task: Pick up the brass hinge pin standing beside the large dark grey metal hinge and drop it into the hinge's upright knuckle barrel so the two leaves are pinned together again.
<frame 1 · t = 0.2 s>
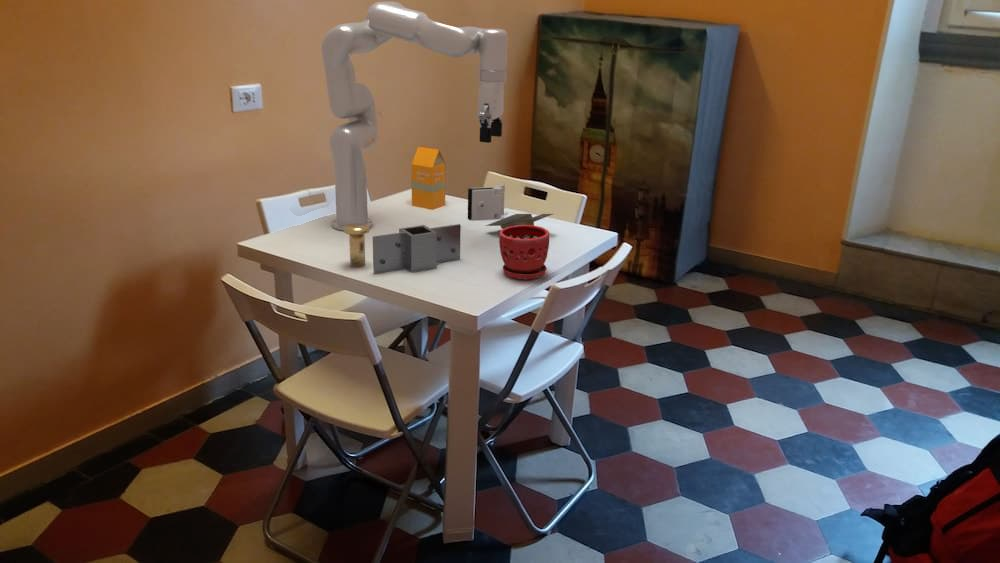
hand: (490, 139, 219), 31 cm above the table, tool pointing down, fingers open, 9 cm apart
hinge frame: (418, 265, 211), on the table
orange juice: (428, 205, 268), on the table
grey winged shape: (518, 235, 241), on the table
pin: (357, 264, 211), on the table
hinge: (487, 217, 257), on the table
plant pot: (522, 274, 208), on the table
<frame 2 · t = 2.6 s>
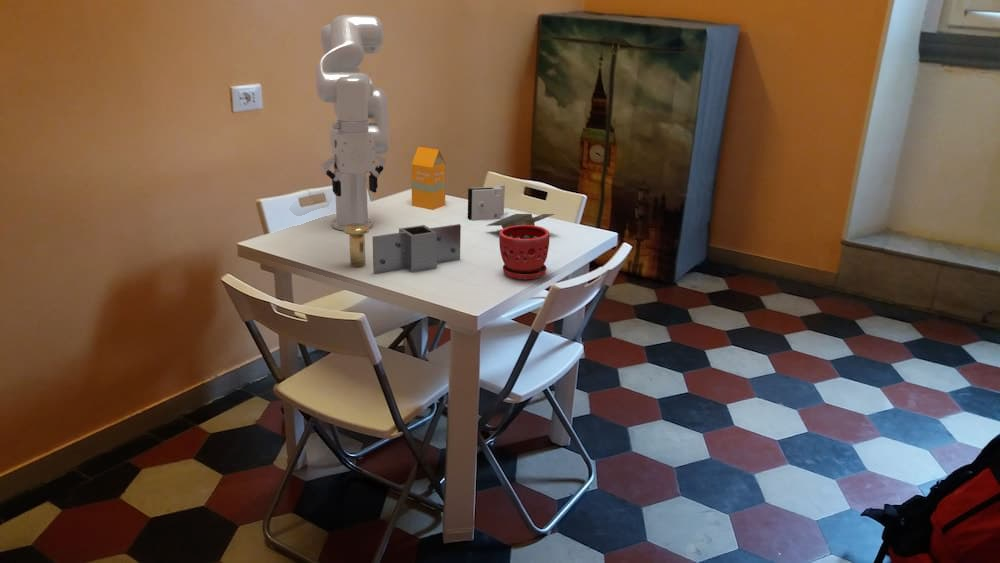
hand: (355, 193, 203), 20 cm above the table, tool pointing down, fingers open, 9 cm apart
nothing on the table moved.
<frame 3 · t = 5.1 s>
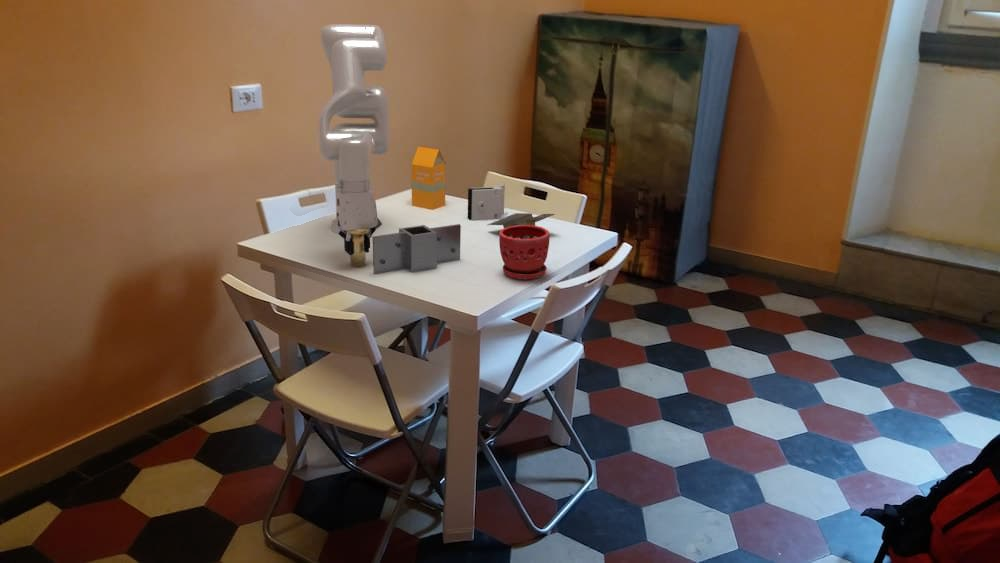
hand: (357, 251, 209), 4 cm above the table, tool pointing down, fingers closed on pin, 4 cm apart
pin: (358, 264, 211), on the table, touching gripper
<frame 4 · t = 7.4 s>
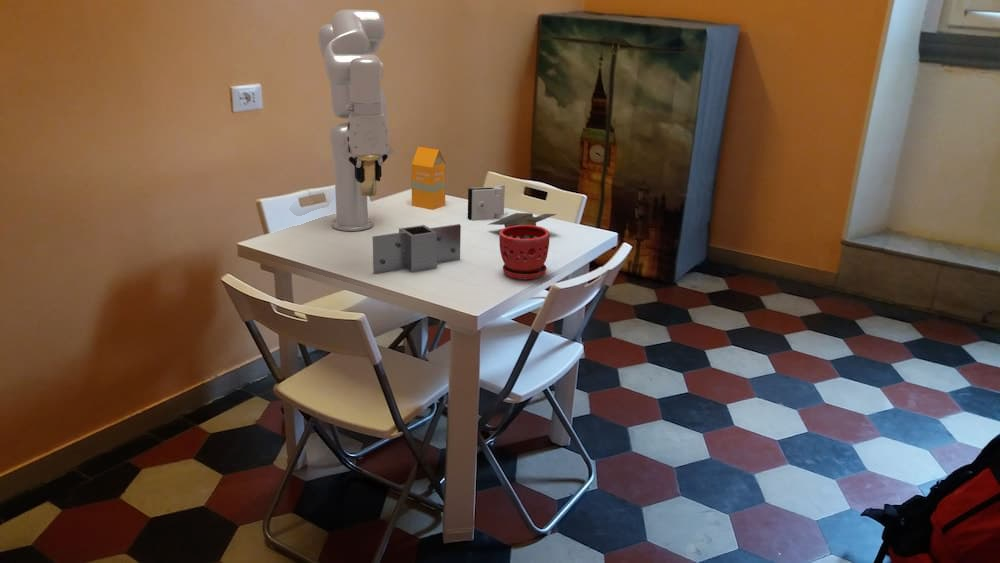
hand: (368, 180, 202), 23 cm above the table, tool pointing down, fingers closed on pin, 4 cm apart
pin: (368, 194, 204), point 20 cm above the table, touching gripper
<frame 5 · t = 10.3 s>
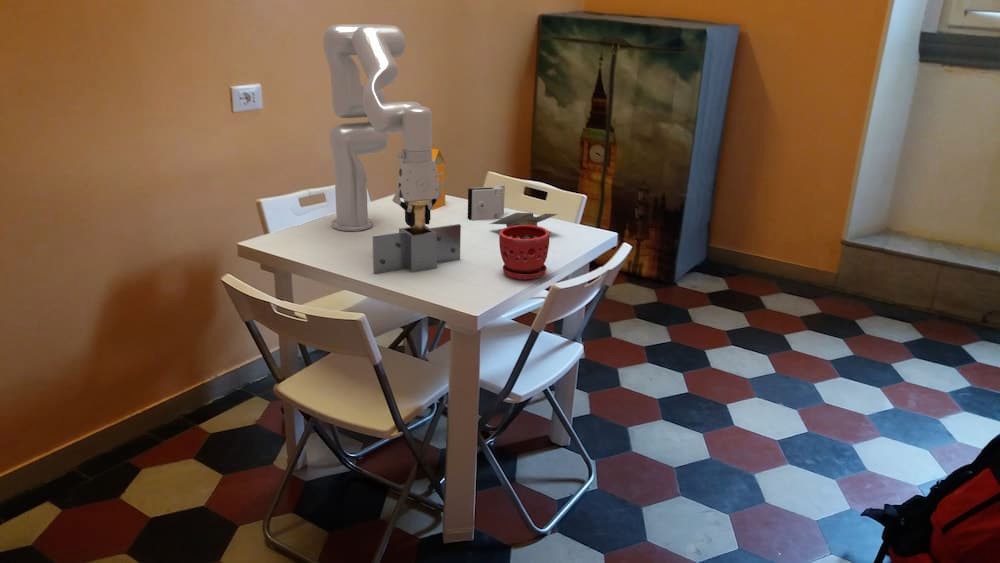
hand: (417, 223, 207), 12 cm above the table, tool pointing down, fingers closed on pin, 4 cm apart
pin: (418, 237, 208), point 8 cm above the table, touching gripper
when the fingers open (12 cm above the table, at t = 11.1 s): pin drops 7 cm, resting on hinge frame.
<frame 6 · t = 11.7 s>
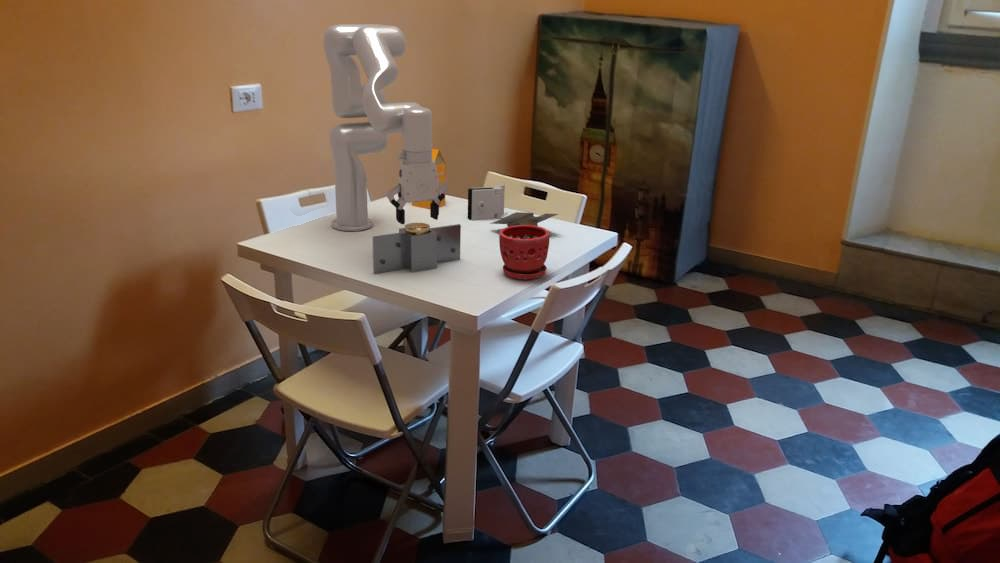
hand: (417, 220, 207), 13 cm above the table, tool pointing down, fingers open, 9 cm apart
pin: (417, 264, 211), resting on hinge frame
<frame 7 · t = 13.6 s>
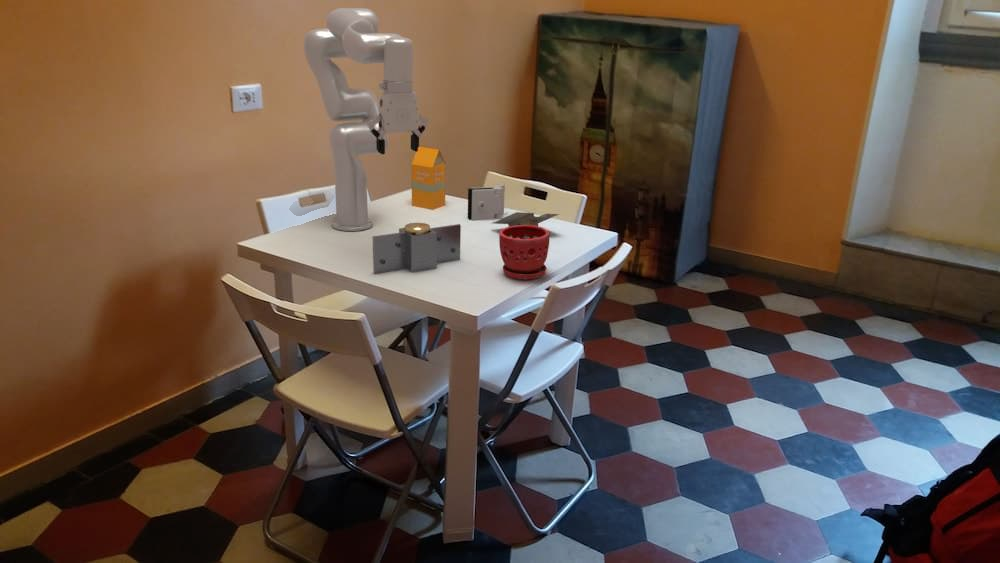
hand: (397, 151, 210), 29 cm above the table, tool pointing down, fingers open, 9 cm apart
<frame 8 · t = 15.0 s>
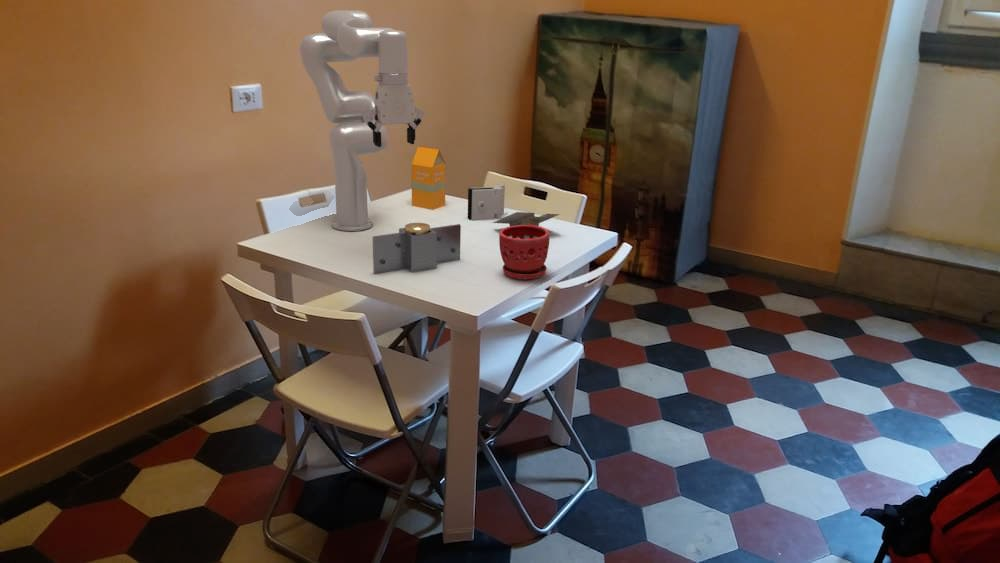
hand: (394, 144, 211), 30 cm above the table, tool pointing down, fingers open, 9 cm apart
at the end: pin 0.1 cm off-centre on the hinge frame, point 0.5 cm above the hinge frame's base; pin tilted 0°; the gripper is holding nothing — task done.
